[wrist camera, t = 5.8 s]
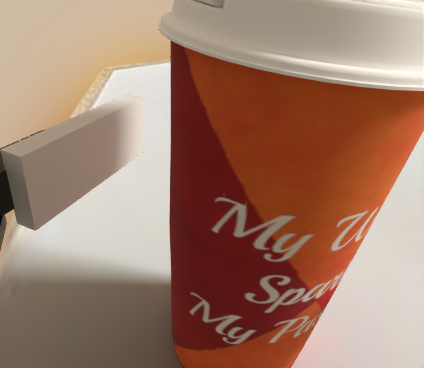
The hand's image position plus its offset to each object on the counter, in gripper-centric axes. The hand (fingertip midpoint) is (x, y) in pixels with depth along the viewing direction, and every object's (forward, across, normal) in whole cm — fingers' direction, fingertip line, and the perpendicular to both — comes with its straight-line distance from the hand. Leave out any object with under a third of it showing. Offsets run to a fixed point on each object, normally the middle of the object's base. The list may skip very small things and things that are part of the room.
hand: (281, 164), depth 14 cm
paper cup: (-3, 0, -8) cm, 8 cm away
